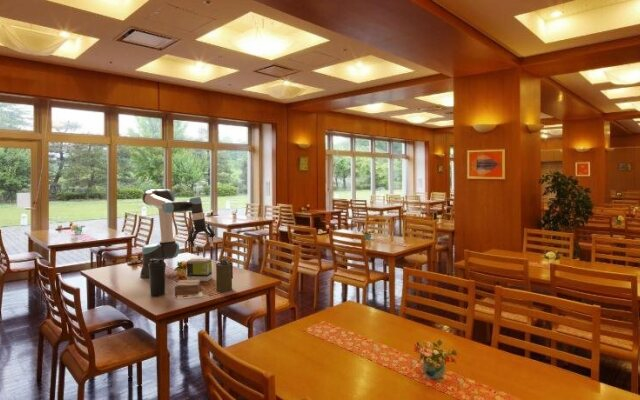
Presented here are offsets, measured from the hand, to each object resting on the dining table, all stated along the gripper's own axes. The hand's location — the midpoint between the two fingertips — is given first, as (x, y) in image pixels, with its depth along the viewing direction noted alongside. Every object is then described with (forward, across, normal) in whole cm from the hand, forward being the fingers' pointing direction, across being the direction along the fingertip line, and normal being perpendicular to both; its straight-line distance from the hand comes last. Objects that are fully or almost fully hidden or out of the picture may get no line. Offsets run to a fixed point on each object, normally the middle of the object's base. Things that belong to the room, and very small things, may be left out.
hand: (203, 248), depth 277 cm
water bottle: (+21, -37, 0) cm, 42 cm away
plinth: (+23, -21, -9) cm, 33 cm away
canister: (+27, -2, -22) cm, 34 cm away
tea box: (+23, 0, +12) cm, 26 cm away
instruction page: (+24, -24, -16) cm, 38 cm away
